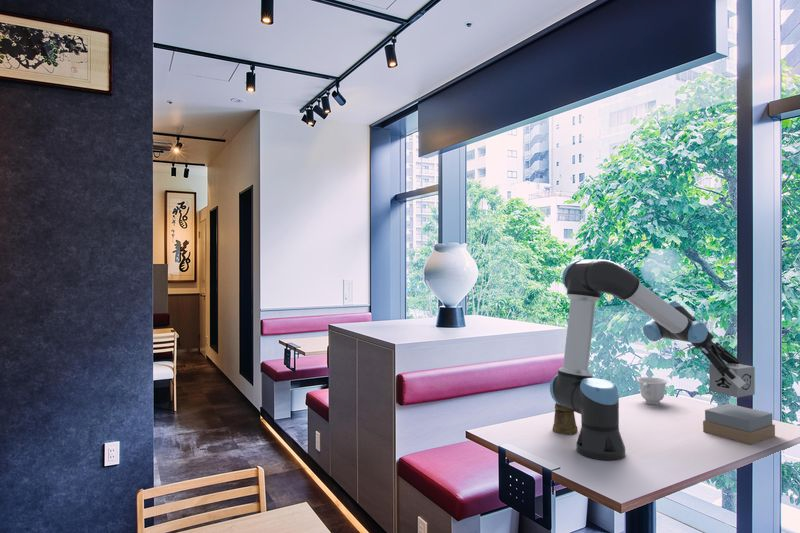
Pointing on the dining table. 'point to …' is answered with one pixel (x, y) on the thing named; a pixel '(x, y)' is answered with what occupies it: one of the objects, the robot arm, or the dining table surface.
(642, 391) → the teacup
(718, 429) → the tower base
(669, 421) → the dining table surface
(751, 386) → the icon cube
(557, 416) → the wooden mug
